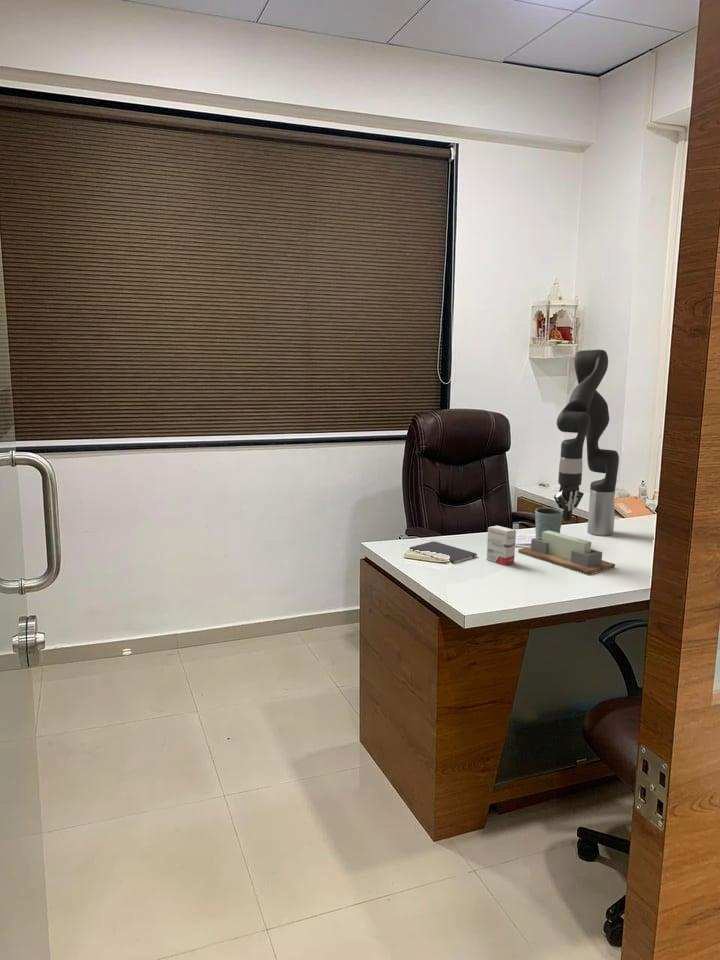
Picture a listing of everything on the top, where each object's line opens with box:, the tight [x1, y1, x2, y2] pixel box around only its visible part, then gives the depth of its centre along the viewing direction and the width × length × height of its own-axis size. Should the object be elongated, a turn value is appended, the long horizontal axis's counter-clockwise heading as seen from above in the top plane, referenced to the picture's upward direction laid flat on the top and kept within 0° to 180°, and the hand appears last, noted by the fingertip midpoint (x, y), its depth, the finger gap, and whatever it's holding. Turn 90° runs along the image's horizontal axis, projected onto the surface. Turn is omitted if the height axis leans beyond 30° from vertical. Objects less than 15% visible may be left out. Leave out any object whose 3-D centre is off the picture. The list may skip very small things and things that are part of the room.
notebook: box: [409, 541, 478, 565], centre depth 249 cm, size 13×2×21 cm
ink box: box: [486, 525, 517, 566], centre depth 238 cm, size 8×5×12 cm, turn 39°
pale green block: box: [542, 530, 592, 560], centre depth 241 cm, size 4×18×7 cm, turn 35°
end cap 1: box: [530, 537, 549, 554], centre depth 248 cm, size 7×7×4 cm
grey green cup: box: [534, 507, 564, 538], centre depth 263 cm, size 10×10×12 cm
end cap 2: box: [571, 548, 603, 567], centre depth 234 cm, size 7×7×4 cm
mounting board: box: [517, 546, 616, 576], centre depth 242 cm, size 14×30×1 cm, turn 34°
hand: (567, 520), depth 239 cm, fingers closed
